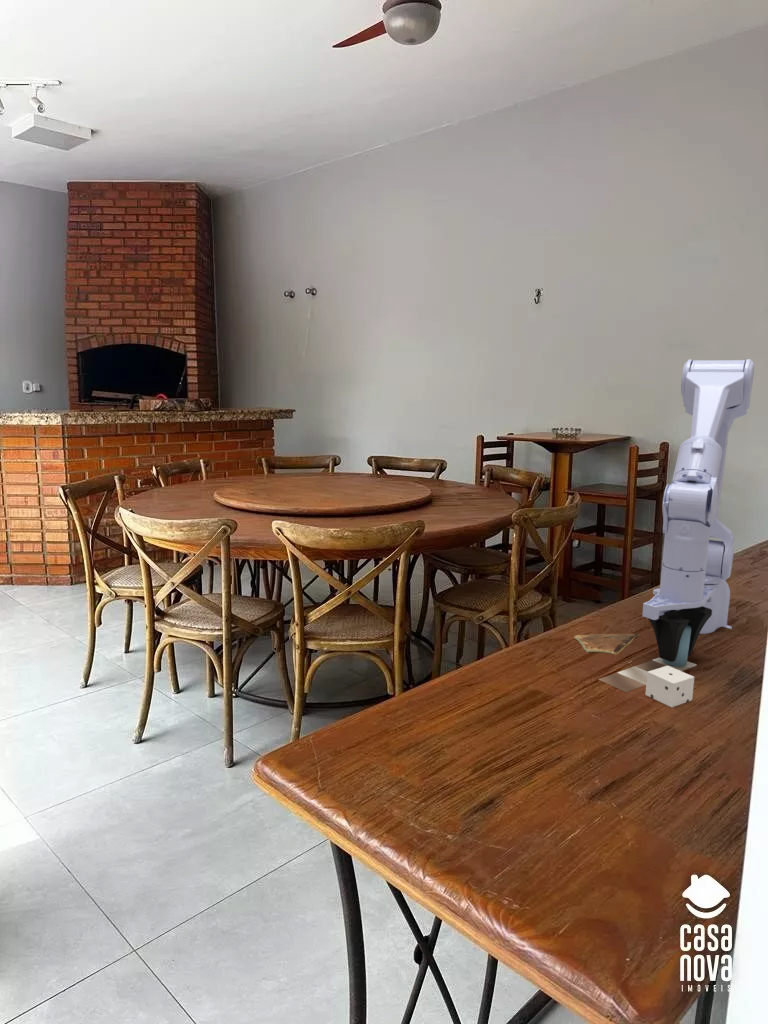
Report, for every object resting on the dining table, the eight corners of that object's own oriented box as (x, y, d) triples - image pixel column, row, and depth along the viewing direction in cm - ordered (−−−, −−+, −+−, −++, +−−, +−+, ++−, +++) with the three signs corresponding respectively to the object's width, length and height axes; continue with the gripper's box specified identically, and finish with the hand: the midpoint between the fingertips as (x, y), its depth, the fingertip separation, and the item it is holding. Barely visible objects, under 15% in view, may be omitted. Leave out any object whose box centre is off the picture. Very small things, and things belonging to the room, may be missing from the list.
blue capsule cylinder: (673, 655, 102) (678, 621, 101) (691, 664, 99) (696, 629, 98) (657, 659, 100) (662, 624, 99) (675, 668, 98) (680, 632, 96)
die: (665, 693, 92) (667, 664, 91) (692, 706, 88) (695, 676, 87) (644, 700, 90) (646, 671, 89) (671, 713, 86) (674, 683, 85)
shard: (638, 641, 110) (639, 631, 110) (659, 661, 103) (660, 650, 103) (572, 642, 110) (572, 632, 109) (588, 662, 102) (589, 651, 102)
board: (667, 657, 103) (667, 653, 103) (698, 669, 99) (698, 665, 99) (596, 683, 94) (596, 678, 94) (627, 697, 90) (627, 692, 90)
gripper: (688, 552, 104) (679, 637, 107) (627, 567, 96) (619, 657, 99) (733, 563, 98) (723, 652, 101) (672, 579, 90) (663, 675, 93)
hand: (675, 656), depth 99 cm, fingers closed on blue capsule cylinder, 3 cm apart
